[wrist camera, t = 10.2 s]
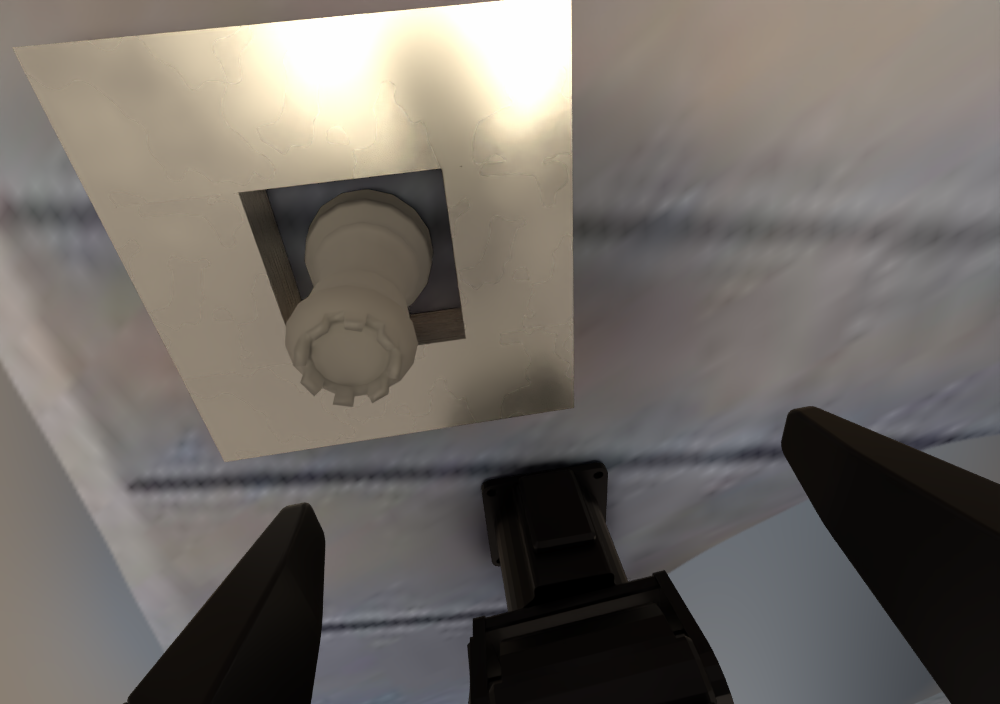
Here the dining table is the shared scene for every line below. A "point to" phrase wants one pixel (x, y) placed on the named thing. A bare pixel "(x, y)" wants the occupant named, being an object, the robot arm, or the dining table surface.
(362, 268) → the rook chess piece
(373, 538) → the dining table surface
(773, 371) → the dining table surface
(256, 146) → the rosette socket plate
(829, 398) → the dining table surface
